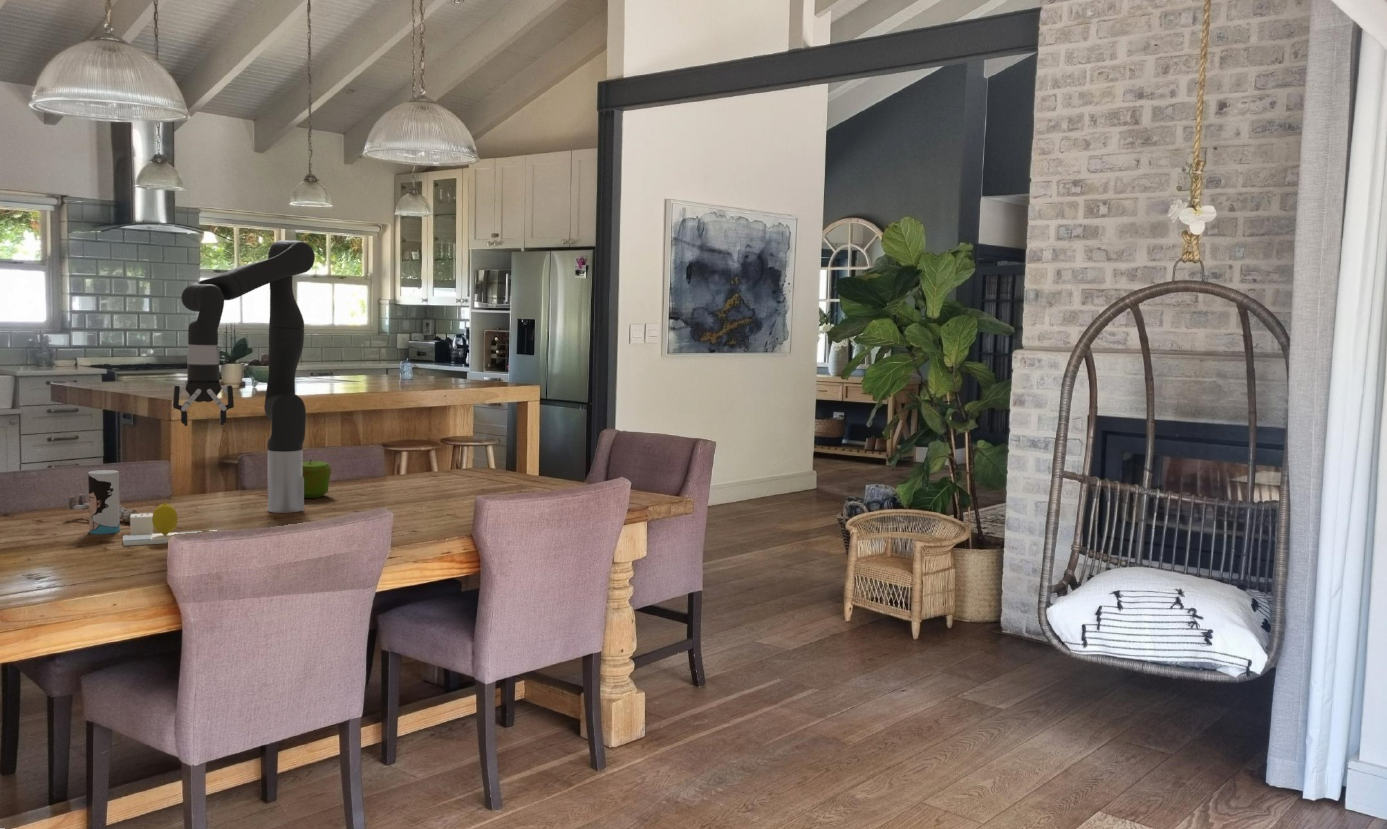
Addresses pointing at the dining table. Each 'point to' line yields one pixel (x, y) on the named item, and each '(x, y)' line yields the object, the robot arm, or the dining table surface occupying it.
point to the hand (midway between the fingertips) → (203, 425)
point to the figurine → (83, 505)
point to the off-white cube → (141, 524)
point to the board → (149, 538)
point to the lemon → (164, 518)
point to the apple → (316, 478)
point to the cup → (104, 502)
